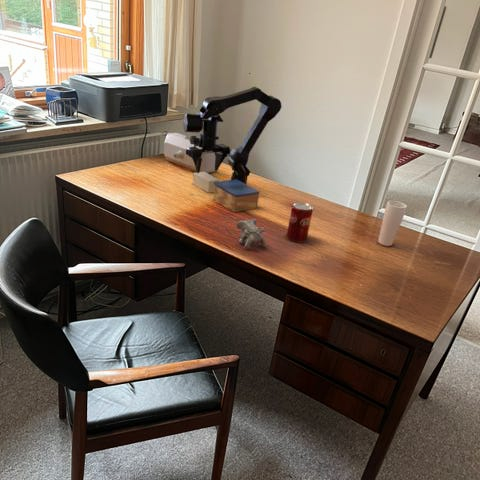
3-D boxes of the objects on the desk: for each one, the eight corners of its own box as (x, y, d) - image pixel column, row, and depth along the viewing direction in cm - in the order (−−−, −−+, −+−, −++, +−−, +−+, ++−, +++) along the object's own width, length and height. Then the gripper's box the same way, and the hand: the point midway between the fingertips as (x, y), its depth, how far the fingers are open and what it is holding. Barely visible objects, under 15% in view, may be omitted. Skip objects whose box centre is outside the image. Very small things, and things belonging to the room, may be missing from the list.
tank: (155, 162, 222) (155, 134, 215) (179, 157, 233) (180, 130, 226) (194, 177, 210) (196, 148, 203) (218, 171, 221) (220, 144, 214)
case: (192, 184, 203) (193, 172, 200) (203, 182, 206) (204, 171, 204) (208, 192, 197) (209, 181, 194) (218, 191, 200) (219, 179, 197)
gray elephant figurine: (251, 253, 154) (254, 231, 150) (224, 239, 160) (226, 218, 156) (268, 245, 161) (272, 224, 156) (242, 233, 167) (245, 212, 162)
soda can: (308, 237, 170) (315, 205, 164) (304, 244, 165) (310, 211, 158) (289, 232, 172) (295, 200, 165) (284, 239, 166) (289, 206, 160)
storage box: (213, 200, 190) (214, 185, 187) (235, 196, 197) (237, 182, 194) (234, 212, 182) (236, 197, 179) (257, 207, 189) (259, 193, 185)
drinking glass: (384, 248, 170) (396, 208, 161) (371, 240, 175) (383, 201, 166) (398, 246, 173) (411, 207, 164) (385, 238, 177) (397, 199, 169)
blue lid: (213, 184, 187) (213, 182, 187) (236, 180, 194) (236, 178, 193) (235, 197, 179) (236, 195, 178) (259, 193, 185) (259, 191, 185)
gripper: (216, 126, 199) (213, 163, 208) (178, 128, 188) (177, 168, 197) (232, 133, 192) (229, 171, 201) (194, 136, 182) (192, 176, 190)
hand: (207, 171), depth 198 cm, fingers open, 9 cm apart
